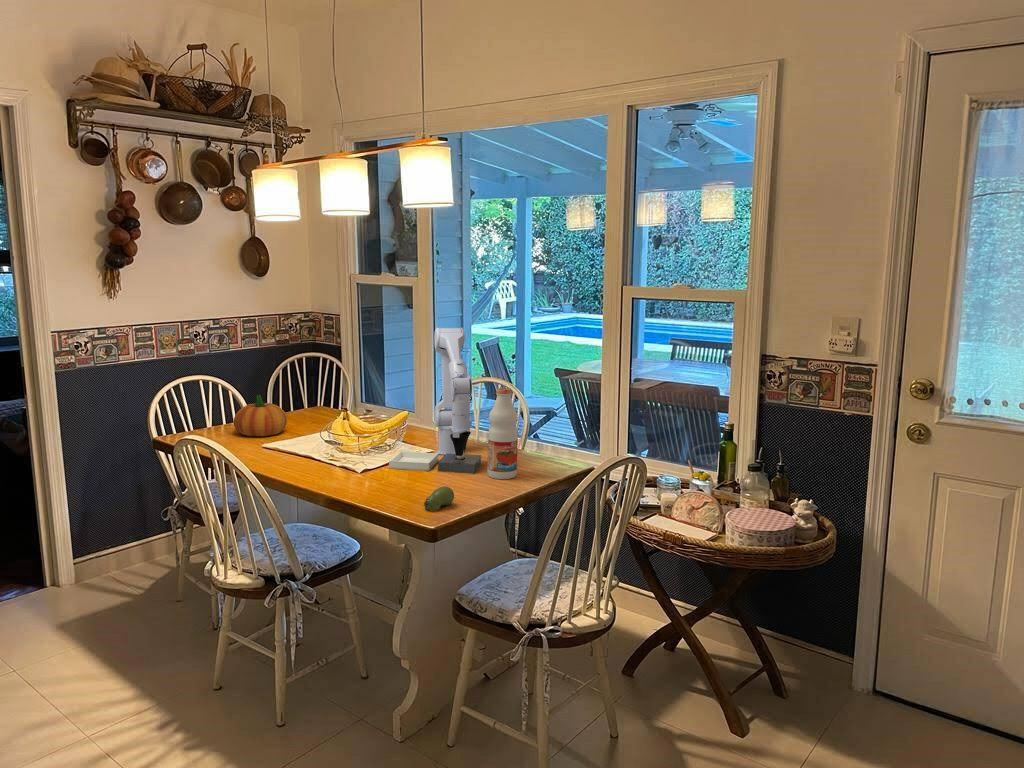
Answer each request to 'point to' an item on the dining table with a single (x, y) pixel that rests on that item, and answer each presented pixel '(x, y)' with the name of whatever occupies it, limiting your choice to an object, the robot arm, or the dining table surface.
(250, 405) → the pumpkin
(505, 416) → the fruit juice
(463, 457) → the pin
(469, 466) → the block
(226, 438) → the dining table surface
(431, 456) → the tray
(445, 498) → the pear
